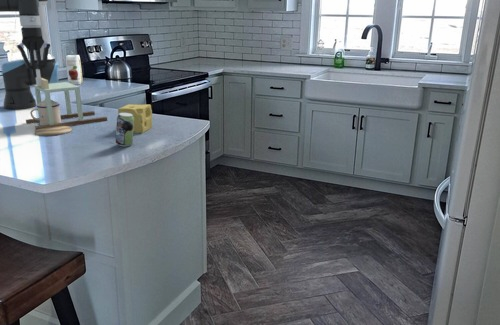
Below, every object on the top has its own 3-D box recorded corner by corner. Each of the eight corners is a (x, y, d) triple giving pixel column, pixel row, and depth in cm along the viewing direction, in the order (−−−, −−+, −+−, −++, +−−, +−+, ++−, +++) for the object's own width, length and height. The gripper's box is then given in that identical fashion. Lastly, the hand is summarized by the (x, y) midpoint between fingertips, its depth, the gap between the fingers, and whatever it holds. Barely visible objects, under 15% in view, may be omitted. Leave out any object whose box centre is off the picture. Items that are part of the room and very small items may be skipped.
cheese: (143, 133, 191) (141, 109, 188) (118, 132, 193) (116, 108, 190) (153, 127, 201) (151, 104, 198) (129, 126, 203) (127, 103, 200)
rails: (26, 123, 210) (25, 119, 210) (93, 114, 227) (92, 111, 227) (36, 130, 197) (36, 127, 196) (107, 120, 214) (106, 117, 213)
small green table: (39, 118, 213) (33, 77, 207) (70, 113, 221) (65, 74, 215) (50, 125, 199) (44, 81, 194) (83, 120, 207) (78, 78, 202)
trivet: (31, 131, 196) (30, 129, 196) (65, 126, 204) (65, 124, 204) (40, 137, 186) (40, 135, 185) (76, 132, 194) (76, 130, 193)
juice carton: (70, 83, 322) (67, 54, 316) (83, 83, 323) (80, 54, 317) (67, 85, 315) (64, 55, 309) (81, 84, 316) (77, 55, 310)
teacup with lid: (62, 121, 213) (58, 95, 210) (61, 125, 205) (58, 98, 201) (32, 123, 209) (29, 97, 206) (31, 128, 201) (27, 100, 197)
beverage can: (117, 143, 177) (114, 111, 174) (137, 142, 178) (135, 111, 174) (114, 148, 171) (111, 115, 168) (135, 147, 172) (132, 114, 168)
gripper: (15, 27, 187) (24, 87, 195) (50, 26, 195) (57, 84, 202) (11, 27, 193) (20, 85, 200) (45, 26, 200) (52, 82, 208)
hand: (39, 84), depth 201 cm, fingers closed
